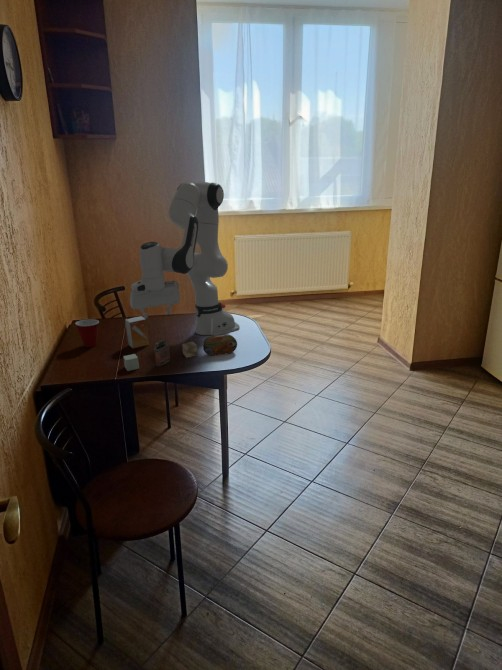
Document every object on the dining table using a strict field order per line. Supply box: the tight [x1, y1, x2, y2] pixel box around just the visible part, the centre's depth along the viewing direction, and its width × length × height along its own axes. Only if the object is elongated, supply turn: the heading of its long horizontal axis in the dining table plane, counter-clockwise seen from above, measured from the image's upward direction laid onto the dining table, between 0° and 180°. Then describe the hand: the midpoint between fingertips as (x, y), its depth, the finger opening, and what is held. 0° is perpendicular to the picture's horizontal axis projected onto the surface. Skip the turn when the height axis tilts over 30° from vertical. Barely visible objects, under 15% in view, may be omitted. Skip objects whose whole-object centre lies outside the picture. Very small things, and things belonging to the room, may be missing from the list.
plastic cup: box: [74, 318, 100, 348], centre depth 223 cm, size 11×11×12 cm
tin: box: [202, 334, 238, 357], centre depth 206 cm, size 15×3×8 cm, turn 101°
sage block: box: [123, 353, 140, 372], centre depth 196 cm, size 5×5×5 cm
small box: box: [124, 315, 150, 349], centre depth 220 cm, size 8×6×13 cm
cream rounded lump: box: [181, 341, 199, 359], centre depth 207 cm, size 5×5×5 cm
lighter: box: [153, 338, 171, 367], centre depth 199 cm, size 8×3×10 cm, turn 148°
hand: (157, 316), depth 193 cm, fingers open, 8 cm apart
